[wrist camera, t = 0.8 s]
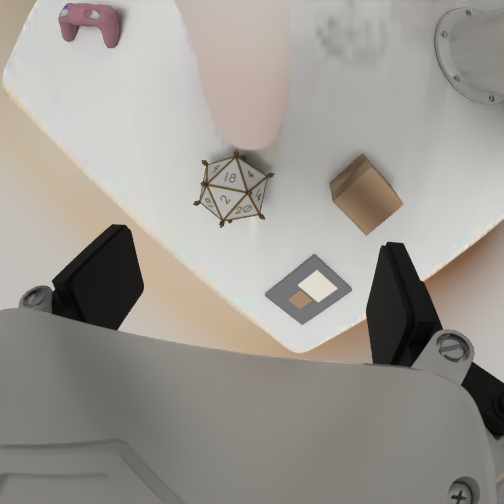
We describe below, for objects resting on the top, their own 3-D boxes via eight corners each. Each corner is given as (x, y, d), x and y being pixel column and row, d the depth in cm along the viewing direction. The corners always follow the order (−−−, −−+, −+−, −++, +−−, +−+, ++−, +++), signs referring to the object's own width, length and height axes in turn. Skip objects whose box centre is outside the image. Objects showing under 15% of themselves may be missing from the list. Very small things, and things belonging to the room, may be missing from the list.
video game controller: (132, 25, 30) (115, -3, 23) (115, 51, 30) (93, 26, 23) (82, 19, 29) (61, -4, 22) (65, 43, 30) (42, 22, 23)
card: (314, 253, 41) (314, 256, 41) (351, 288, 43) (351, 291, 42) (265, 293, 46) (264, 296, 46) (302, 322, 48) (302, 325, 47)
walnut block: (362, 153, 33) (371, 166, 28) (390, 185, 34) (403, 204, 29) (329, 183, 36) (332, 201, 31) (359, 213, 37) (366, 235, 32)
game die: (256, 160, 40) (297, 162, 31) (243, 222, 42) (280, 240, 33) (191, 146, 36) (217, 140, 27) (178, 213, 37) (199, 230, 29)
